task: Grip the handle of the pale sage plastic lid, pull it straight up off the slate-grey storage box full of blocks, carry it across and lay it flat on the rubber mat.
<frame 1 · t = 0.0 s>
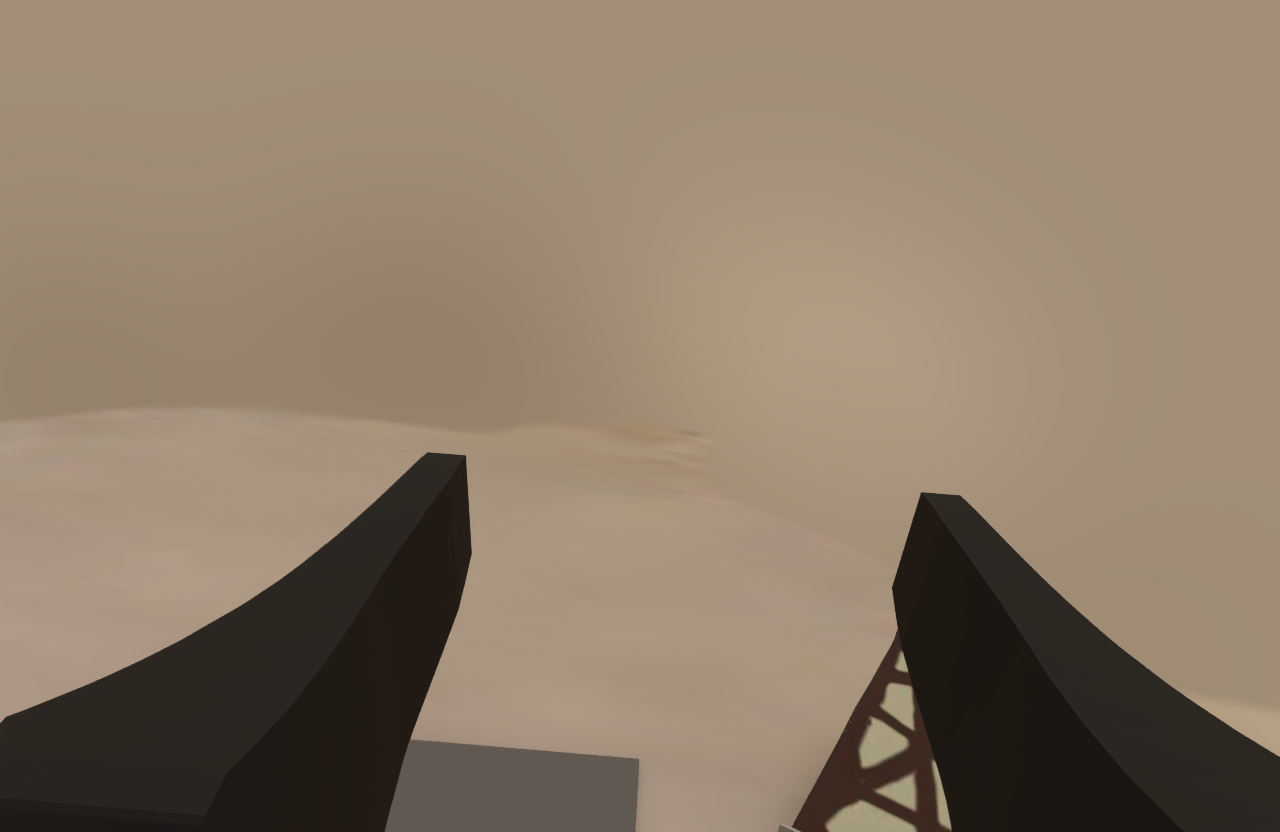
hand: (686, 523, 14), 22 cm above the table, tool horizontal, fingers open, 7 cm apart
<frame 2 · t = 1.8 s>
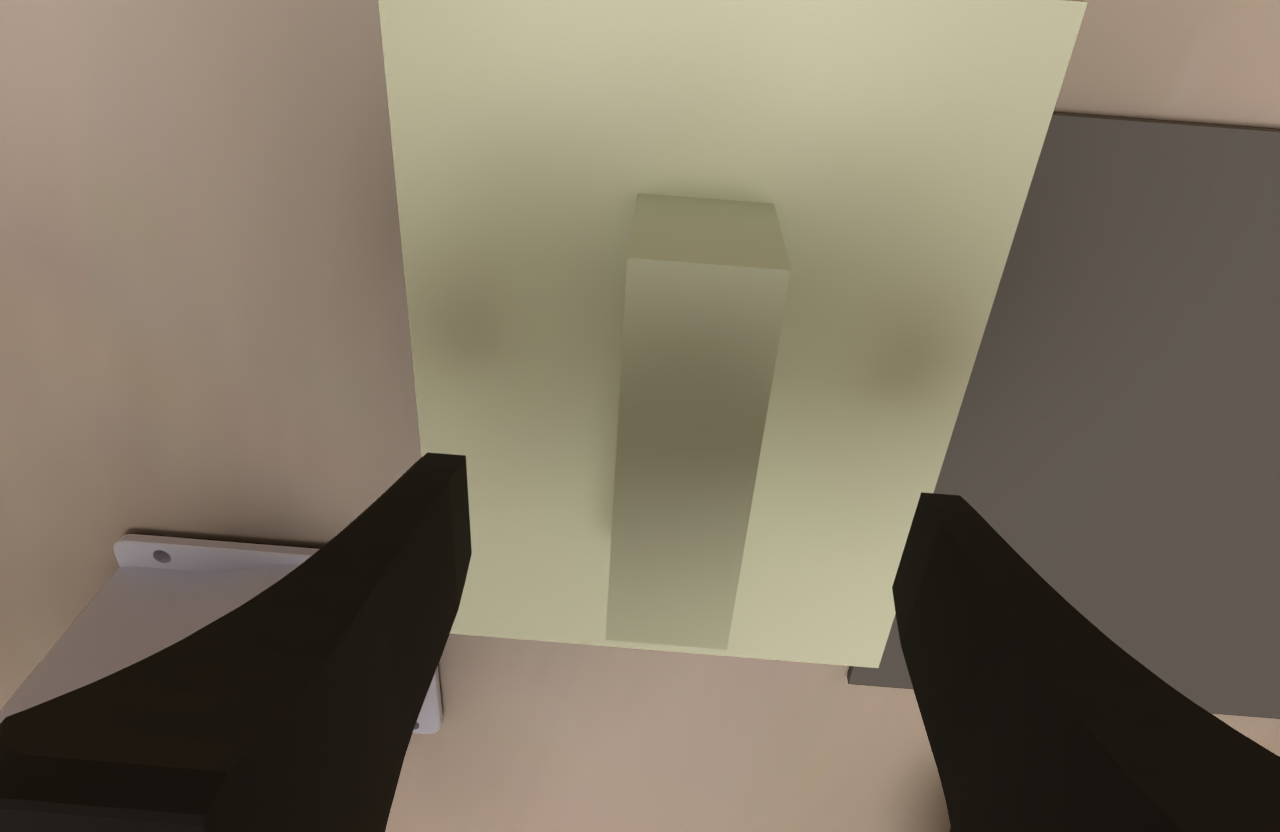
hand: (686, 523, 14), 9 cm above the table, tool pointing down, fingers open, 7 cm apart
rubber mat: (1188, 474, 23), on the table
lid: (685, 368, 18), point 3 cm above the table, touching storage box
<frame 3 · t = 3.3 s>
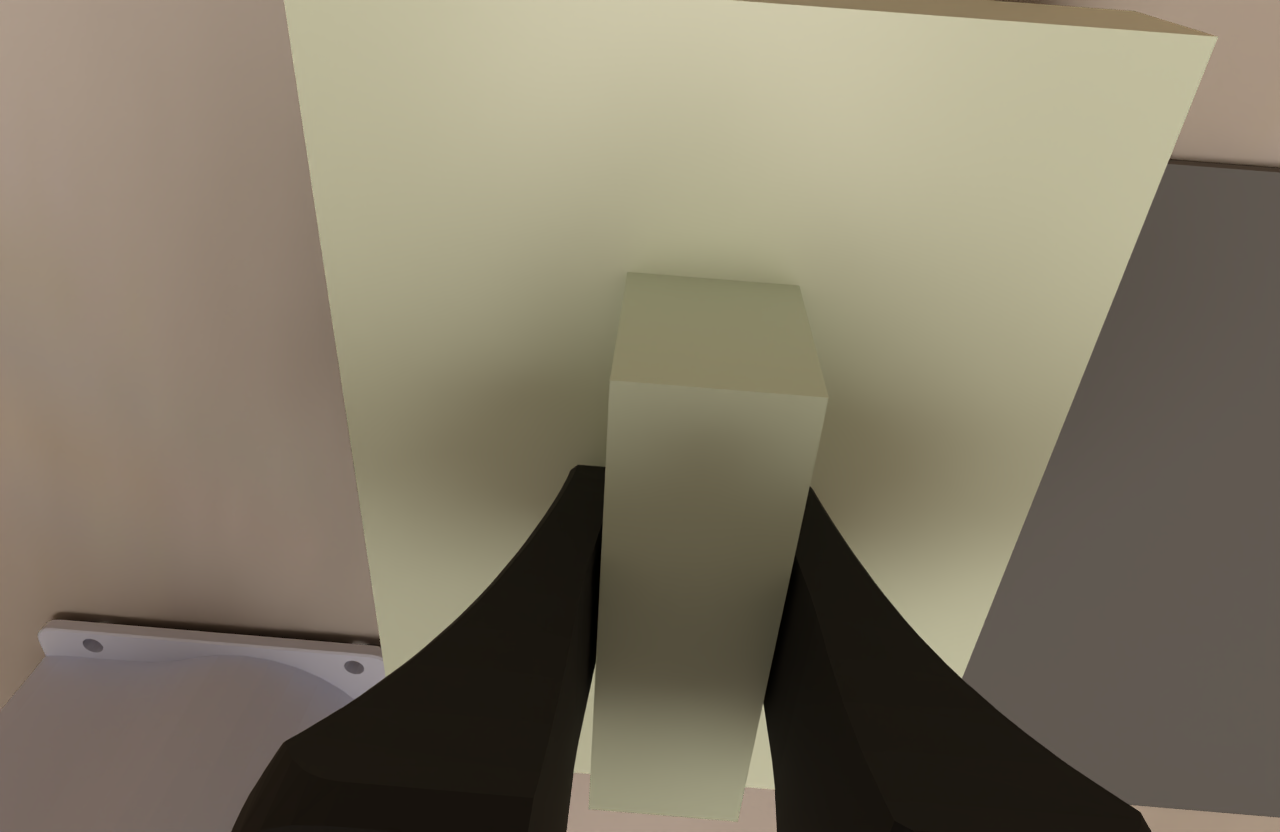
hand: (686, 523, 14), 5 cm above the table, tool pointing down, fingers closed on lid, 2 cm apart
rubber mat: (1269, 565, 20), on the table
lid: (687, 467, 15), point 3 cm above the table, touching gripper, storage box
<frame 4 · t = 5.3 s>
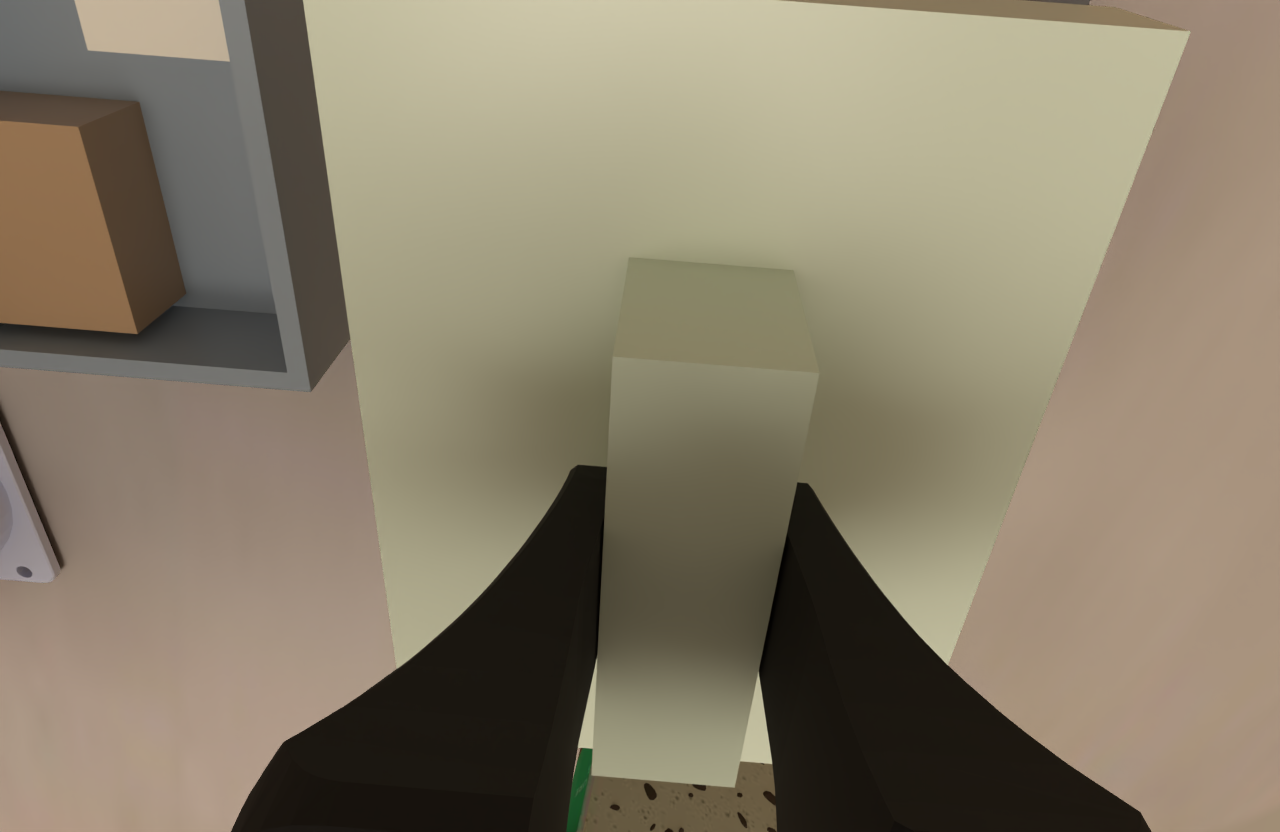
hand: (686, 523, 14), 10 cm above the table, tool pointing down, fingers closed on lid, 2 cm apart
food container: (682, 712, 32), on the table
lid: (686, 448, 15), point 8 cm above the table, touching gripper
storage box: (145, 75, 20), on the table
when the fingers open (4 cm above the table, at t = 7.2 s): lid stays where it is, resting on rubber mat.
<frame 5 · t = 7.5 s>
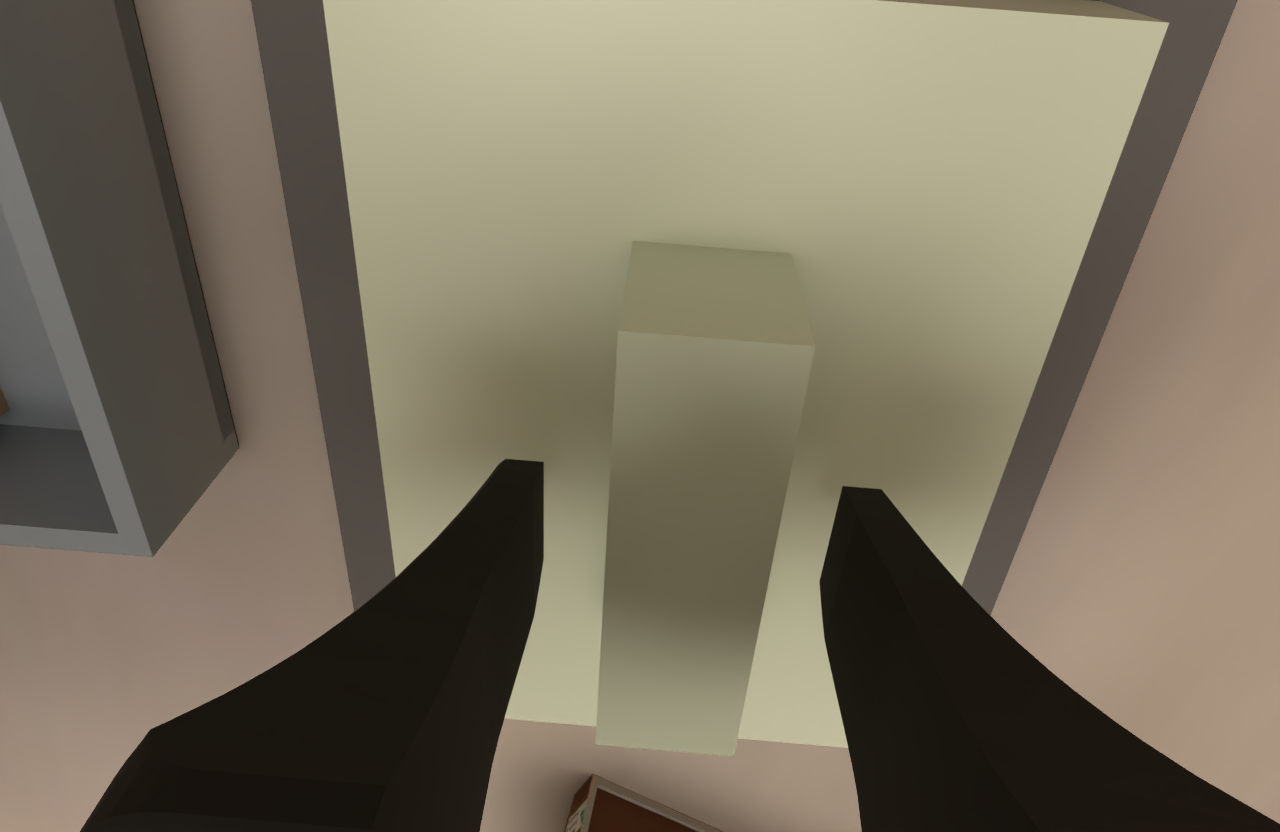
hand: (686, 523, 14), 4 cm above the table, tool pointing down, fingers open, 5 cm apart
rubber mat: (687, 388, 17), on the table
lid: (687, 430, 16), point 1 cm above the table, touching rubber mat
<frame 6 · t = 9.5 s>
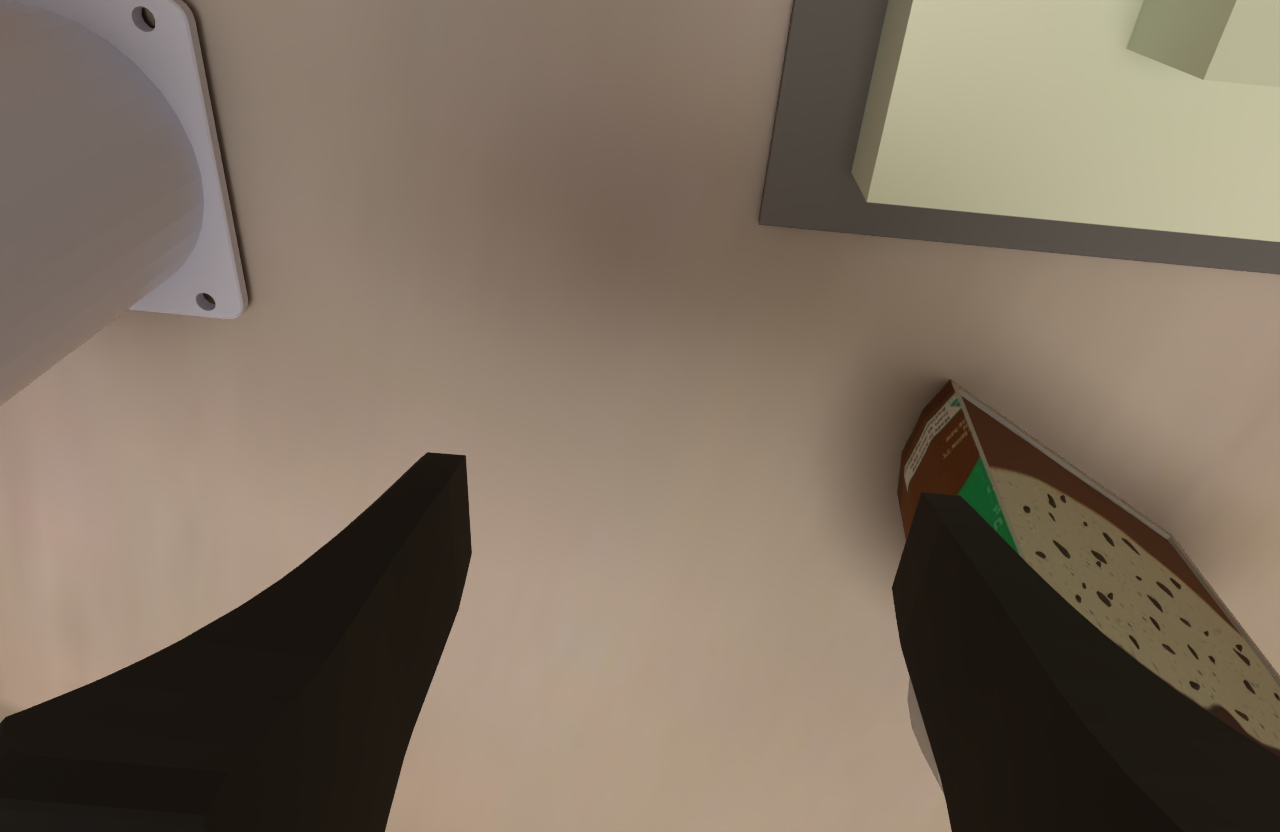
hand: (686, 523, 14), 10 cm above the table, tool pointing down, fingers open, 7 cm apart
food container: (985, 521, 26), on the table
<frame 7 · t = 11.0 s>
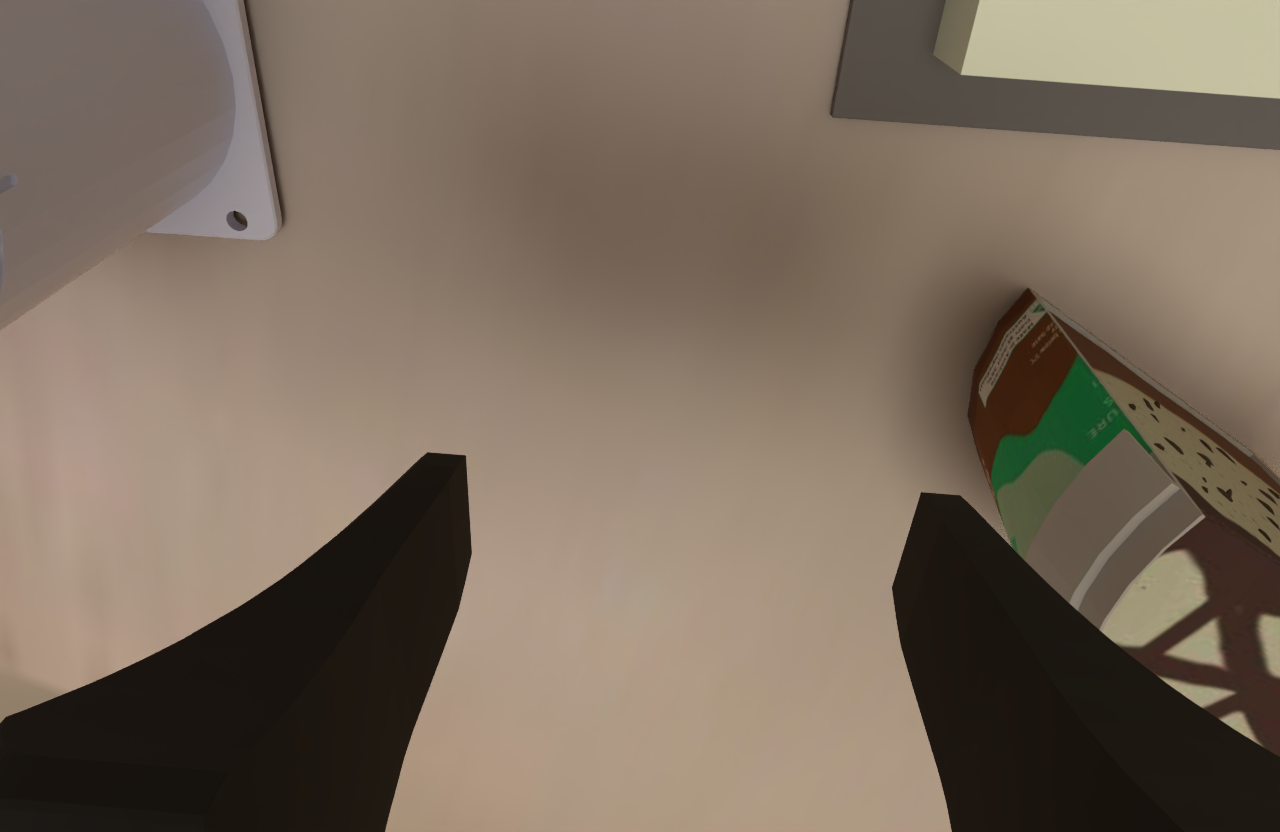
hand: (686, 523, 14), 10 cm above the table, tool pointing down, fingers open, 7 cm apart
food container: (1058, 444, 25), on the table
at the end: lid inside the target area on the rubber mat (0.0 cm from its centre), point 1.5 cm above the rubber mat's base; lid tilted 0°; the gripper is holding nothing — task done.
